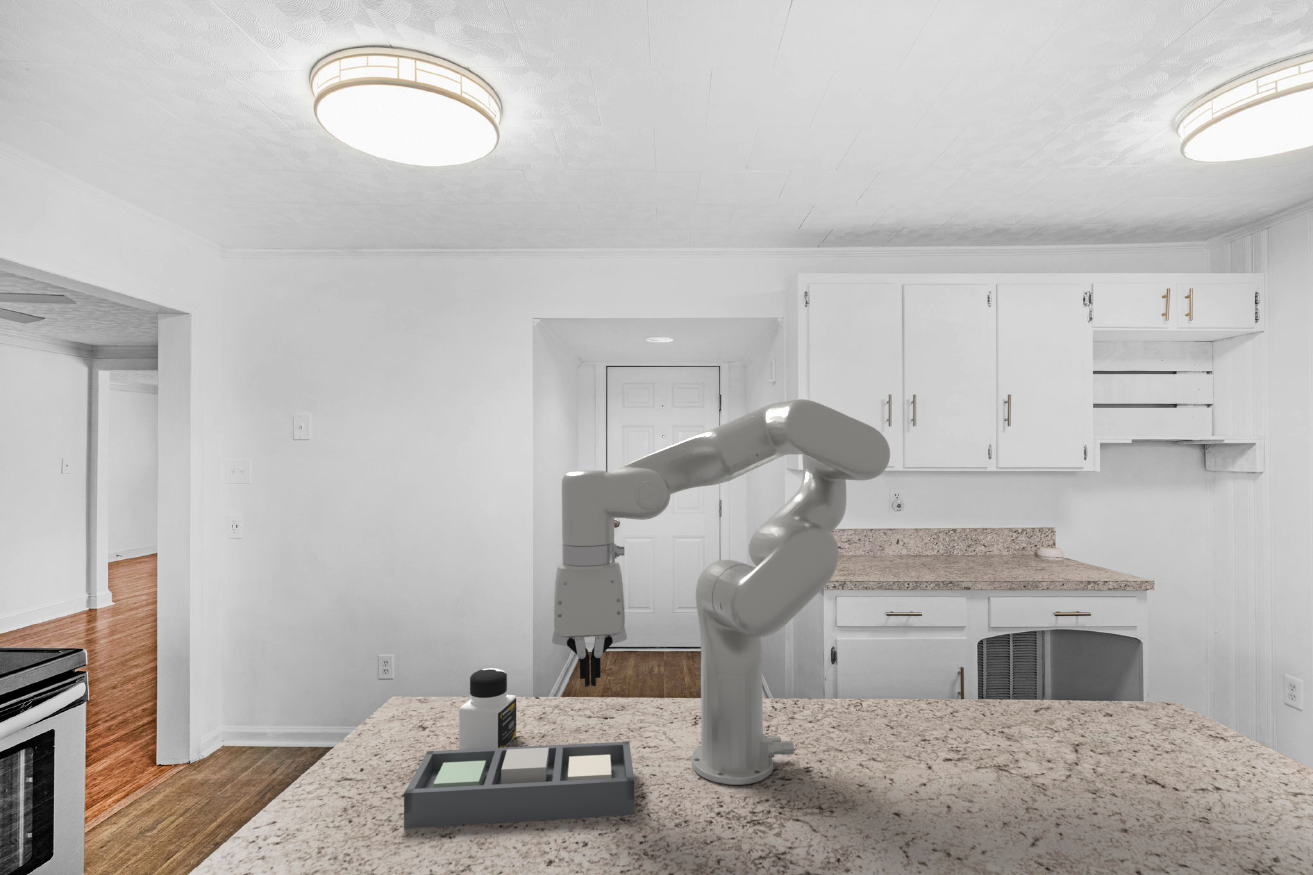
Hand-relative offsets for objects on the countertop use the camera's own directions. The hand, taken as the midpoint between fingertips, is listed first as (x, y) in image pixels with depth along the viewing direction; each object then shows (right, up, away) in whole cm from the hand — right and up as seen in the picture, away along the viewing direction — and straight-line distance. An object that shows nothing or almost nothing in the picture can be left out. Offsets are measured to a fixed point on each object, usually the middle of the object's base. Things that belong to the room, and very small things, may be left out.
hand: (590, 682), depth 93 cm
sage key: (-18, -13, -3) cm, 23 cm away
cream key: (0, -13, -1) cm, 14 cm away
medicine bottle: (-19, -16, +15) cm, 29 cm away
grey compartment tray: (-9, -16, -2) cm, 18 cm away
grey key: (-9, -12, -2) cm, 15 cm away
